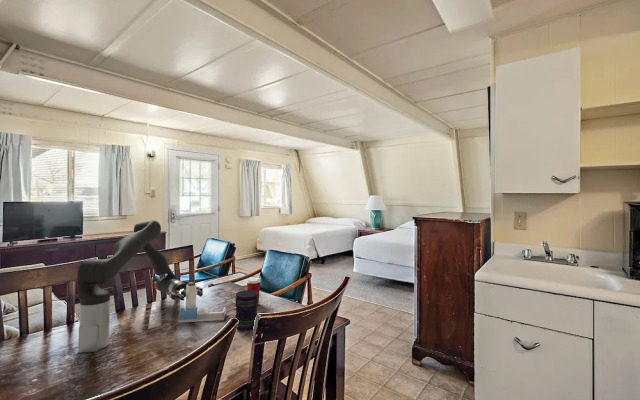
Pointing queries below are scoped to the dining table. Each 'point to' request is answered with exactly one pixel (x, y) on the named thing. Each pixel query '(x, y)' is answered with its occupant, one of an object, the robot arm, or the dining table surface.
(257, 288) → the paper cup
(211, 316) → the grey blue holder base
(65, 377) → the dining table surface
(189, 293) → the off-white tall block
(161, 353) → the dining table surface
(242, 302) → the storage jar
